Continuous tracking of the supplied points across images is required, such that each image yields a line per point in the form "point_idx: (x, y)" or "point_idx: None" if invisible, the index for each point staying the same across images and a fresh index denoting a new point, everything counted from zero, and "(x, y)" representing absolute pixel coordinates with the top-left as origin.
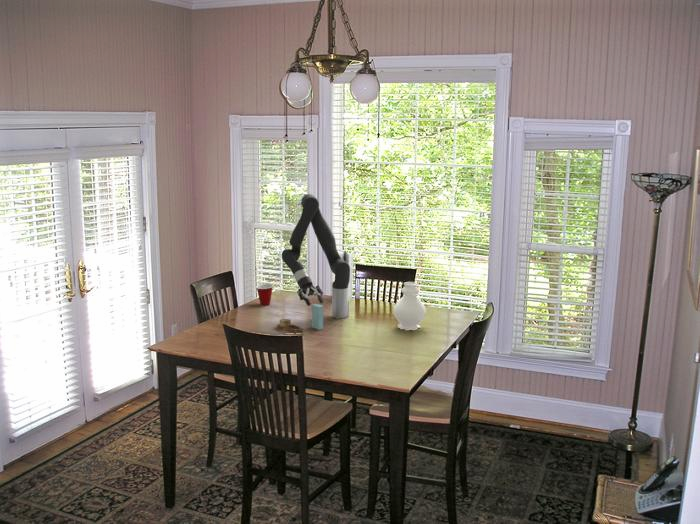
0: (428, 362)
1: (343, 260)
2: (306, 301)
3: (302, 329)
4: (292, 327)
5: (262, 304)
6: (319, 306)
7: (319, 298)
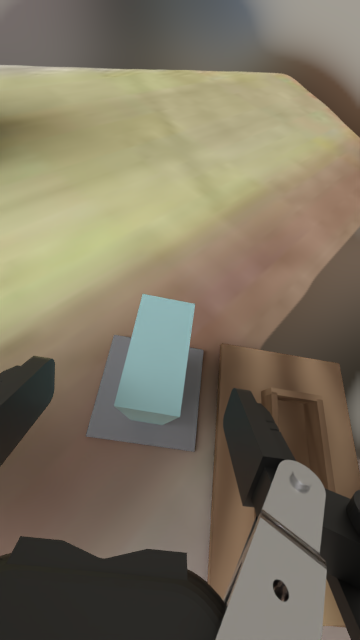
0: (170, 73)
1: None
2: (280, 441)
3: (268, 389)
4: None
5: None
6: (177, 311)
7: (14, 417)
